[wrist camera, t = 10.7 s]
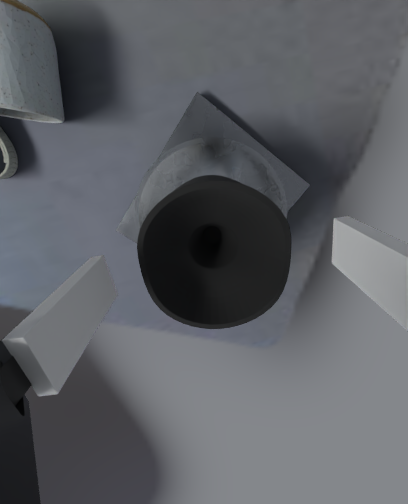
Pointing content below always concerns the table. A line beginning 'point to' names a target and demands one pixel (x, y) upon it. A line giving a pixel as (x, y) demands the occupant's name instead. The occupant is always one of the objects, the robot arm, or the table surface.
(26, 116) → the ceramic mug
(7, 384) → the robot arm
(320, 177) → the table surface
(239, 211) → the pen holder
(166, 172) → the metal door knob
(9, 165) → the beige oval ring
